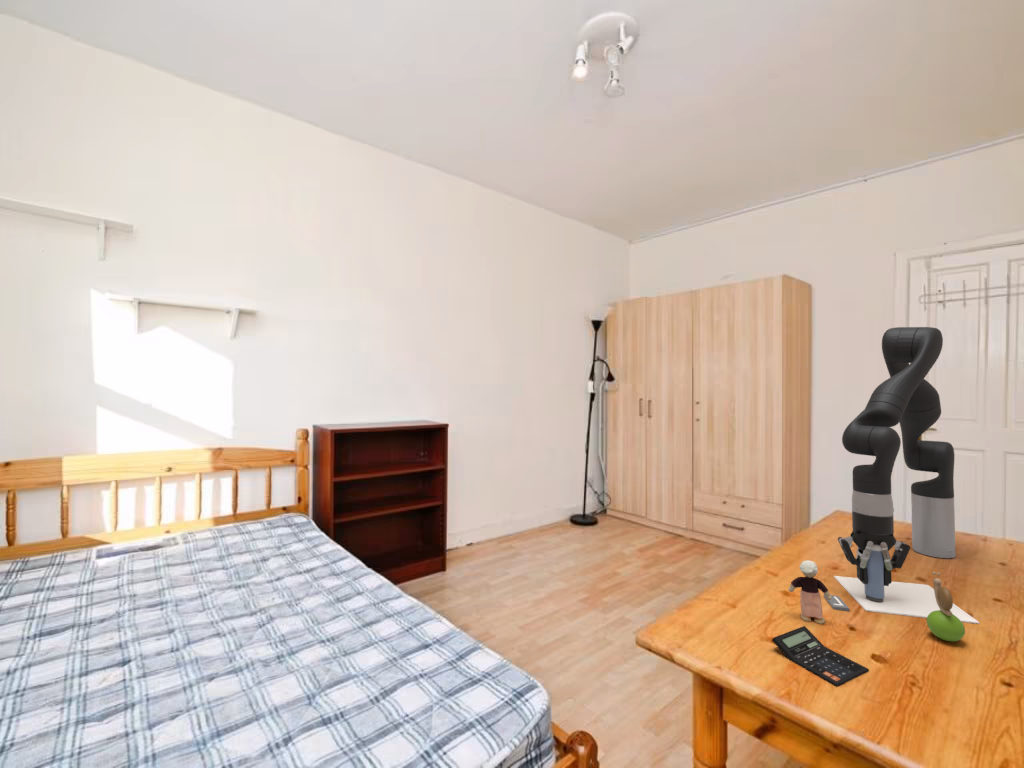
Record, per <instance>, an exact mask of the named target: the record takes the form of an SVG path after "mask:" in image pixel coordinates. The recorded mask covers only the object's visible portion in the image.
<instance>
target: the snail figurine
mask: <svg viewBox="0 0 1024 768" xmlns="http://www.w3.org/2000/svg"><path fill="white" fill-rule="evenodd" d="M932 575H933V580H932V581H933V589H934V593H935V598H936V602H937V605H938V606H939V608H940V610H937V611H933V612H931V613H930V614H929V615H928V616H927V618H926V625H927V627H928V629H929V630H930V632H931V633H932V634H933V635H934V636H935V637H938V638H939V639H940V640H943V641H946V642H958V641H961V640H962V639H963V638H964V636H965V634H966V629H965V626H964V624H963V623H964V622H961V621H960V619H959V618H957V617H956V616H955V615H953V614H952V612H951V611H950V609H951V608H952V606H953V604H954V599H953V595H952V593H951V590H949V589H948V587H946V586H942V585H943V583H942V580H941V579H940V575H941V573H940V572H936V571H932ZM936 575H937V577H936V578H935V576H936Z"/></svg>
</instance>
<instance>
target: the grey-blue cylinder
mask: <svg viewBox="0 0 1024 768" xmlns="http://www.w3.org/2000/svg"><path fill="white" fill-rule="evenodd" d="M865 568H866V569H867V584H864V588H865V594H866V598H867V599H868V600H870V601H873V602H879V603H881V602H883V598H884V561H883V555H882V550H881V546H880V545H874V544H873V548H872V550H871V554H870V557H869V560H868V561H867V564H866V567H865Z"/></svg>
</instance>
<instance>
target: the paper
mask: <svg viewBox="0 0 1024 768" xmlns="http://www.w3.org/2000/svg"><path fill="white" fill-rule="evenodd" d="M833 578H834V579H835V580H836V581H837V582H838V583H839V584H840V585H841V586H842V587H843V588H844V589H845V591H846V592H848V594H849V595H850V596H851V597H852V598H853V599H854V600H855V601H856V602H857V603H858V604H859V605H860V606H861V608H862V609H863V610H865V612H873V613H879V614H880V613H881V614H888V615H889V614H890V615H899V616H907V617H916V618H922V619H923V618H924V619H927V616H928V615H929V614H930V613H931V612H933V611H937V610H940V608H939V606H938V605H937V602H936V598H935V593H934V587H932V586H930V585H929V584H922V583H914V582H901V581H893V580H892V582H891V584H889V586H884V598H883V602H881V603H879V602H873V601H870V600H868V599H867V598H866V594H865V588H864V584H863V583H862V582H861V581H860V580H859V579H858V578H857V577H850V576H838V575H833ZM950 611H951V612H952V614H953V615H955V616H956V617H957V618H959V619H960V621H961V622H962V623H966V624H967V623H968V624H976V623H977V624H976V625H980V622H979V620H977V619H975V618H974V617H972V615H970V614H968V613H967V612H966V611H965V610H963V609H961V608H960V607H959V606H957V605H956V604H955V603H953V606H952V608H951V609H950Z"/></svg>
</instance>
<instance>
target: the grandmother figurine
mask: <svg viewBox="0 0 1024 768" xmlns="http://www.w3.org/2000/svg"><path fill="white" fill-rule="evenodd" d="M818 569H819V568H818V565H817V563H815V562H814V561H813V560H808V559H807V560H803V561H802V562H801V563H800V564H799V571H801V573H802V574H803V576H798V577H796V578H794V579H793V580H792V581H791V582H790V585H789V587H788V591H789V592H790V593H793V592H794V591H795V589H797V588H800V611H801V613H800V618H801V619H802V620H803V621H804V622H812V618H813V621H814V623H817V624H824V623H825V622H826V619H825V618H824V616H823V605H822V598H821V593H820V591H821V592H822V594H823V596H824V595H825V596H826V599H827V600H831V599H832V597H831V596H830V595H831V594H830V592H829V589H828V588H827V586H826V585H825V583H824V582H822V581H821V580H819V579H818V578H816V575H817V574H818ZM826 599H825V600H826ZM827 600H826V601H827Z"/></svg>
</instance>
